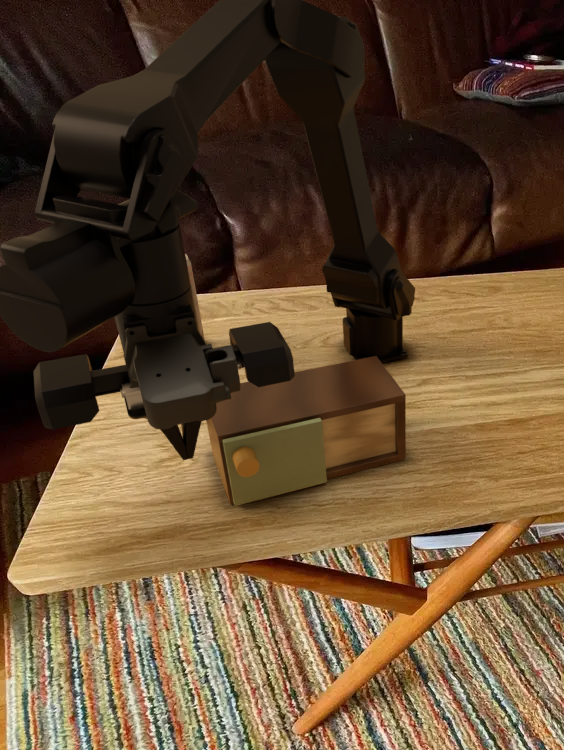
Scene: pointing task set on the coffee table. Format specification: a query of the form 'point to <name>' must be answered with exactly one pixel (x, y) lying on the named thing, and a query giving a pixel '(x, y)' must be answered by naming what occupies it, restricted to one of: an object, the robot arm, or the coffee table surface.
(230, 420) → the sideboard
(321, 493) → the coffee table surface
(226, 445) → the door
